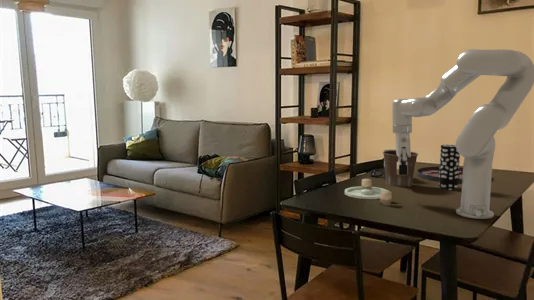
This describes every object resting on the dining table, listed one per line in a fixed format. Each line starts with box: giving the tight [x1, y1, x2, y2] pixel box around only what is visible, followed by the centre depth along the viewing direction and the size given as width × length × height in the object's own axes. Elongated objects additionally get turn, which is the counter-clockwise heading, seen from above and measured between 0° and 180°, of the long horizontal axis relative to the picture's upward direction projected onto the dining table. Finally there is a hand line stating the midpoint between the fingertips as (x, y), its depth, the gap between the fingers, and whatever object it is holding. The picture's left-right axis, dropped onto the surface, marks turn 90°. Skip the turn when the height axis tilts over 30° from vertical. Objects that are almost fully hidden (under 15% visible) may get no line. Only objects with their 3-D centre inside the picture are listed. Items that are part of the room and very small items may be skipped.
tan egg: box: [397, 162, 408, 175], centre depth 178 cm, size 4×4×5 cm
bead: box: [361, 178, 373, 190], centre depth 194 cm, size 4×4×5 cm
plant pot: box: [382, 150, 419, 188], centre depth 208 cm, size 16×16×16 cm
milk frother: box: [369, 149, 396, 180], centre depth 227 cm, size 14×16×15 cm
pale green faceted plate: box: [344, 185, 389, 200], centre depth 189 cm, size 19×19×2 cm
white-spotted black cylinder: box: [438, 144, 461, 191], centre depth 201 cm, size 8×8×20 cm
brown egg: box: [379, 190, 393, 206], centre depth 175 cm, size 4×4×5 cm
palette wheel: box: [416, 166, 463, 184], centre depth 230 cm, size 35×35×3 cm
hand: (402, 173), depth 178 cm, fingers closed on tan egg, 4 cm apart
